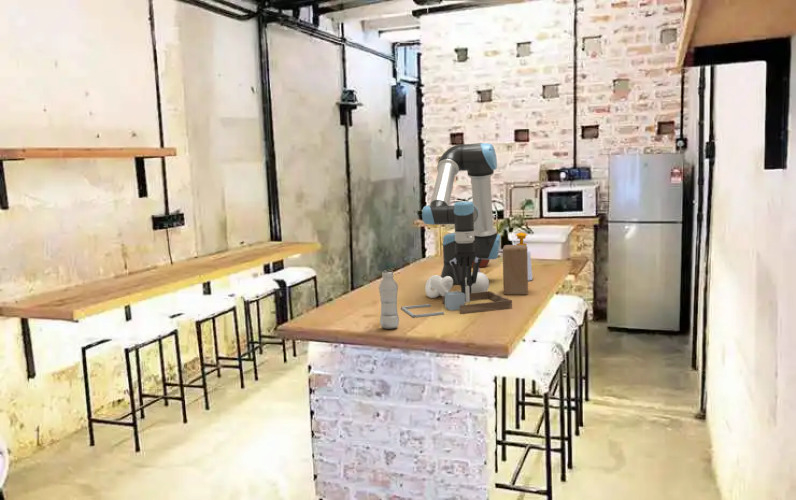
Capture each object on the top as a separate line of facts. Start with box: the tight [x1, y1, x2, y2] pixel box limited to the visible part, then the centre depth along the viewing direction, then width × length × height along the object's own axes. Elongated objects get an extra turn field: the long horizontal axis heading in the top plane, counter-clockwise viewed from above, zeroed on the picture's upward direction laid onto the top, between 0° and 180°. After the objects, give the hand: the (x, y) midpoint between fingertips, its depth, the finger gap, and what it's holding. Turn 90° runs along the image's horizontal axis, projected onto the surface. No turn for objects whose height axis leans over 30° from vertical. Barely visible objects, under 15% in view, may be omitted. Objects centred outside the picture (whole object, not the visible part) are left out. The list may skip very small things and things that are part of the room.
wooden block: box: [502, 244, 529, 296], centre depth 276 cm, size 10×10×20 cm
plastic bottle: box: [378, 270, 400, 330], centre depth 226 cm, size 6×7×20 cm
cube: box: [444, 290, 466, 311], centre depth 253 cm, size 6×6×6 cm
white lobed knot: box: [424, 274, 454, 299], centre depth 274 cm, size 11×12×9 cm
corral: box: [400, 303, 445, 319], centre depth 250 cm, size 16×12×1 cm
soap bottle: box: [515, 231, 533, 282], centre depth 307 cm, size 10×14×22 cm
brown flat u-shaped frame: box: [441, 290, 513, 315], centre depth 256 cm, size 20×21×3 cm
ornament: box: [465, 267, 490, 293], centre depth 274 cm, size 10×10×12 cm
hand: (466, 301), depth 255 cm, fingers closed
